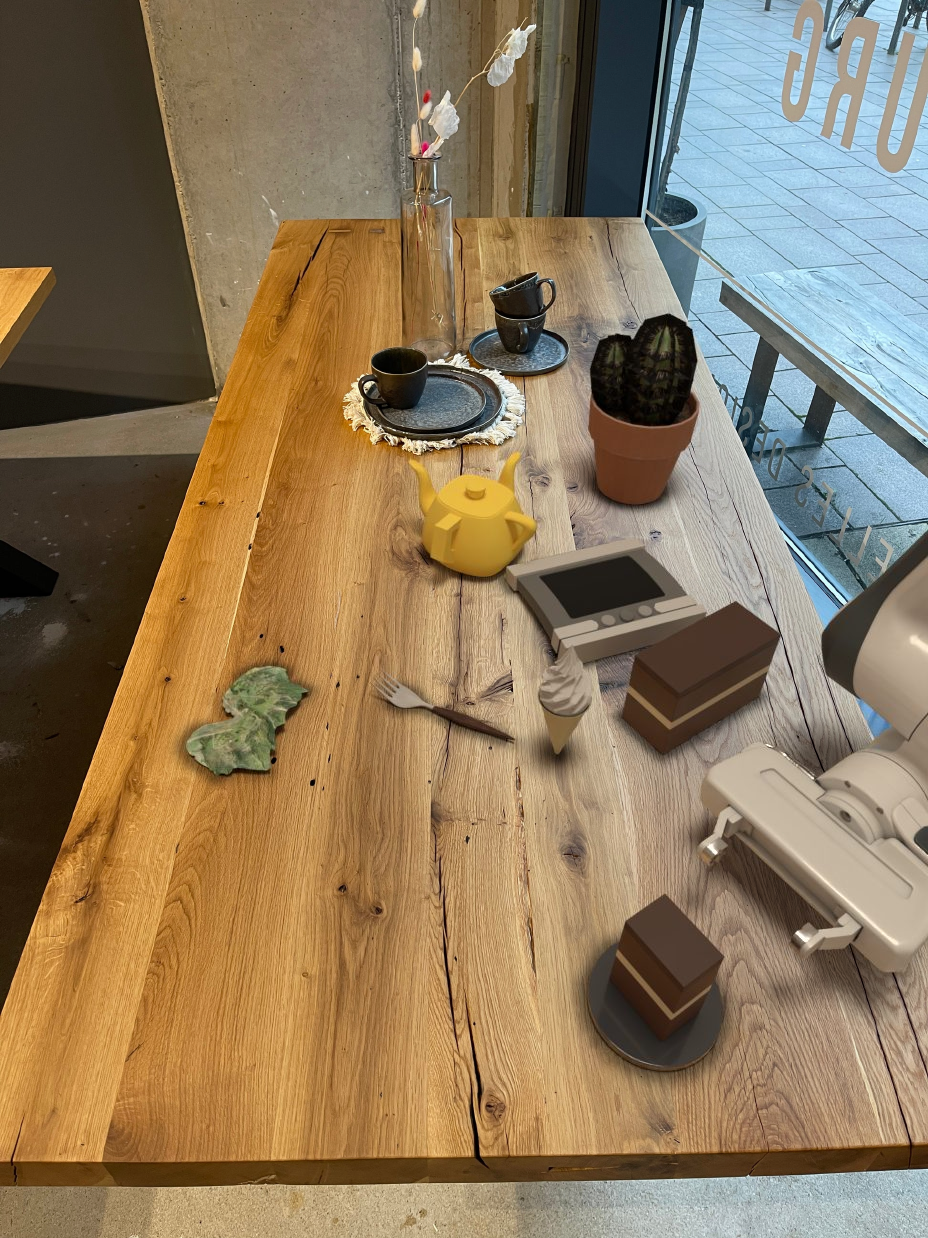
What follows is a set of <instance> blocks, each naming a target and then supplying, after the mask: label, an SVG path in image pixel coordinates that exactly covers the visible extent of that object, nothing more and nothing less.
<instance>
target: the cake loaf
mask: <svg viewBox="0 0 928 1238" xmlns="http://www.w3.org/2000/svg"><path fill="white" fill-rule="evenodd" d="M781 637H782V634H781V633H780V632H778V630H776V629H775V628H773V627H772V626H771V625H769V624H768V623H767V622H765V621H764V620H763V619H761V618H760V617H758V616H757V615H756V614H755V613H753V612H752V611H751V610H749V609H747V608H746V607H745V606H743V605H742V604H741V603H740V602H738V601H736V600H734V601H733V602H731V603H729V604H726V605H725V606H724V607H723V606H722V608H720V609H718V610H716V611H714V612H712V613H710V614H708V615H706V617H705V618H703V619H701V620H699V621H697V622H695V623H694V624H692V625H690V626H688V627H686V628H684V629H682V630H680V631H679V632H677V633H675V634H673V635H671V636H669V637H667V638H666V639H664V640H662V641H660V642H658V643H656V644H654V645H650V646H648V647H647V648H644V649H643V650H642V651H641V650H640V651H639V652H638V653H636V654H634V657H633V663H632V666H631V667H632V668H631V672H630V677H629V680H628V681H629V682H628V686H627V690H626V696H625V700H624V703H623V704H624V705H623V710H622V713H621V718H622V719H623V720H625V721H626V722H627V724H629V725H630V726H631V727H632V728H633V729H634V730H635V731H637V732H638V734H640V735H641V736H642V737H643V738H644V739H645V740H646V741H647V742H648V743H649V744H650V745H651V746H652V747H654V749H656V750H657V751H658V752H659V754H661V755H665V754H668V753H669V752H671V750H673V749H675V748H677V747H679V746H680V745H682V744H683V743H686V742H687V741H688V740H690V739H692V738H693V737H695V736H696V735H698V734H699V733H702V732H703V731H704V730H705V731H706V729H708V728H709V727H711V726H713V725H714V724H717V722H719V721H721V720H723V719H724V718H726V717H728V716H729V715H731V714H732V713H734V712H736V711H738V710H739V709H740V708H742V707H744V706H745V705H747V704H749V703H750V702H752V701H754V700H755V699H757V698H758V697H760V695H761V692H762V690H763V687H764V684H765V681H766V678H767V676H768V673H769V670H770V668H771V664H772V661H773V659H774V656H775V654H776V651H777V648H778V645H779V642H780V639H781Z"/></svg>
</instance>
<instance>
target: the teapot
mask: <svg viewBox="0 0 928 1238" xmlns="http://www.w3.org/2000/svg"><path fill="white" fill-rule="evenodd" d="M520 458H521V452H520V451H515V452H513V453H512V454H511V455H509V457H508V458H507V459H506V461H505V463H504V466H503V467H502V470H501V473H500V475H499V477H498V480H497V481H496V480H493V479H491V478H489V477H484V476H481V475H476V474H461V475H459V476H456V477H455V478H453V479H451V481H449V482H448V483H447V484H445V485H444V486H443V487H442V488H441V489H440V490H439V491H438V493H437V492H436V490H435V487H434V485H433V481H432V479H431V476H430V474H429V472H428V471H427V470H428V469H426V468H425V466H423V464H422V463H420V462H418V461H417V460H415V459H414V460H413V459H409V460H408V463H409V466H410V467H411V468H412V470H413V471H414V473H415V475H416V477H417V482H418V505H419V508H420V511H421V513H422V515H423V517H424V520H423V525H422V531H421V542H422V545H423V546H424V548H425V550H426V552H428V554H429V556H430V558H431V559H433V560H436V561H437V562H438V563H440V564H442V566H444V567H446V568H448V569H450V570H452V571H455V572H458V573H461V574H465V575H468V576H473V577H481V578H485V577H491V576H494V575H496V574H498V573H499V572H502V570H503V569H504V568H506V567H507V566H509V564H510V563H511V562H512V561H513V560H515V558H516V557H517V556H518V554H519V553H520V552H521V551H522V549H523V547H524V546H525V544H527V542H529V541H530V540H531V539H532V538H533V537H534V536H535V534H536V532H537V529H538V524H537V522H536V521H535V520H534V518H533V517H531V516H529V515H526V514H524V512H523V510H522V507H521V505H520V503H519V501H518V498H517V497H516V493H515V491H516V490H515V472H516V471H515V470H516V468H517V465H518V462H519V461H520Z"/></svg>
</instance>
